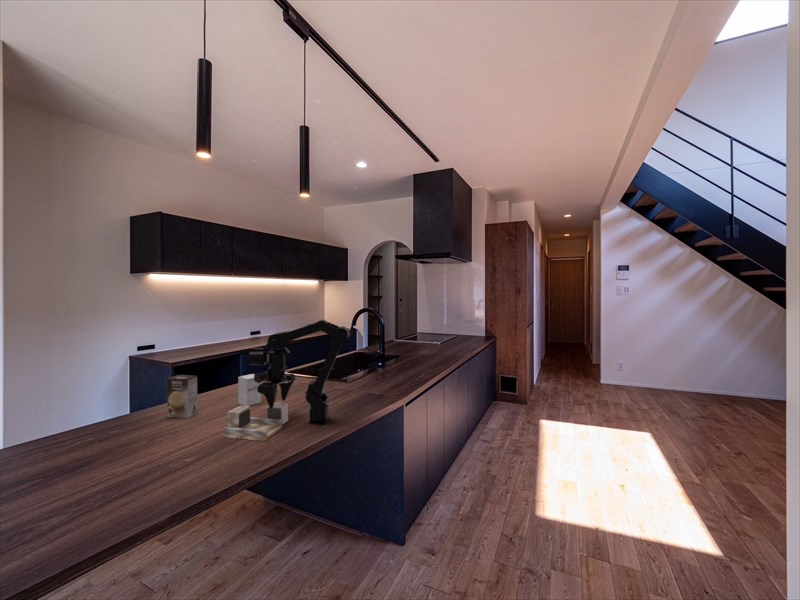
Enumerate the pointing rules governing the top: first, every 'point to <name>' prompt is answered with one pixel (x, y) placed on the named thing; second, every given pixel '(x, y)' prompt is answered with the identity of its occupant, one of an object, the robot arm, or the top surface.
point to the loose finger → (278, 412)
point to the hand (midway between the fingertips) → (277, 404)
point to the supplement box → (248, 390)
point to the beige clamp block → (250, 425)
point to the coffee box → (182, 396)
